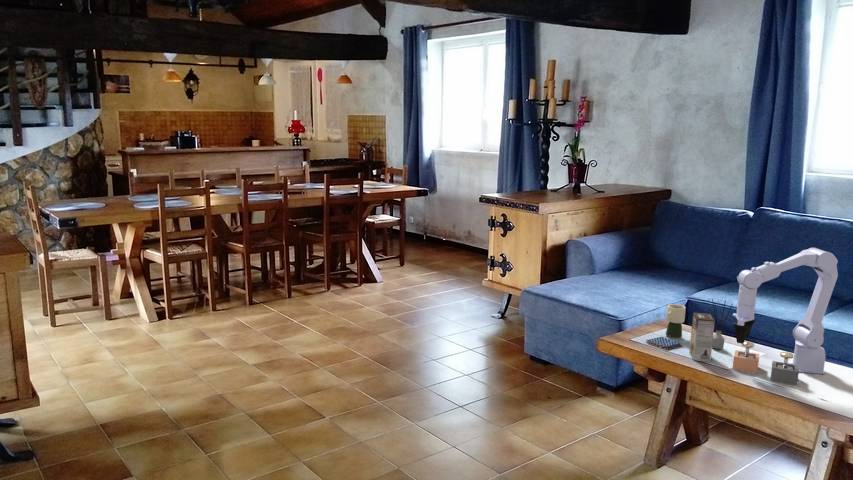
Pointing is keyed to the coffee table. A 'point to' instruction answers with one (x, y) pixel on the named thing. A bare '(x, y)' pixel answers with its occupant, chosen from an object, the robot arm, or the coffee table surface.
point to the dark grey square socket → (784, 373)
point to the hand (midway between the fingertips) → (742, 340)
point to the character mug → (675, 320)
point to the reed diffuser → (718, 331)
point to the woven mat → (664, 343)
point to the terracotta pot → (746, 362)
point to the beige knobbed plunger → (785, 360)
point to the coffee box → (701, 336)
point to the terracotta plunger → (747, 349)
